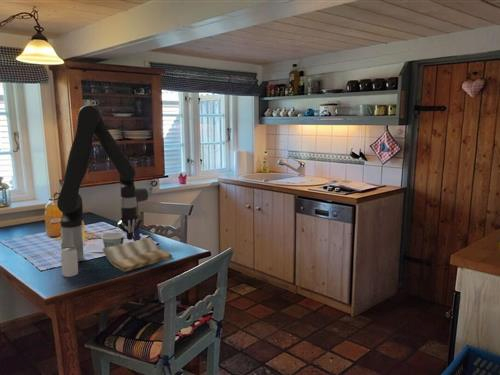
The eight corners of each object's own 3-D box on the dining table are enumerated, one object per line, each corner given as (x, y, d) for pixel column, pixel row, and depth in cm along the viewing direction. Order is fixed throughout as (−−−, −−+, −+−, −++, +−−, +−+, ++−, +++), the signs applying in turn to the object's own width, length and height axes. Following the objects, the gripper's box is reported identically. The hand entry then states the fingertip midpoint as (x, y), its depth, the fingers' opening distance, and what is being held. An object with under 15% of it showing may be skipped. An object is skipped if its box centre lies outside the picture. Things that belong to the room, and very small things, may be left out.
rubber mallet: (128, 245, 220) (127, 190, 215) (123, 241, 226) (121, 188, 221) (150, 241, 228) (148, 188, 223) (144, 237, 234) (142, 186, 228)
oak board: (124, 271, 184) (124, 267, 184) (113, 265, 191) (113, 261, 191) (172, 258, 203) (172, 254, 202) (160, 253, 210) (160, 249, 209)
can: (65, 271, 183) (63, 246, 181) (80, 271, 184) (78, 246, 182) (60, 277, 177) (58, 251, 175) (75, 277, 177) (73, 250, 175)
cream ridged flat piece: (112, 264, 192) (113, 261, 191) (102, 251, 197) (103, 248, 196) (159, 252, 210) (160, 249, 209) (149, 240, 216) (150, 237, 215)
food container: (129, 244, 222) (128, 232, 221) (119, 251, 211) (119, 239, 210) (107, 243, 224) (107, 231, 222) (97, 250, 212) (97, 238, 211)
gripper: (120, 209, 193) (121, 244, 197) (144, 204, 203) (145, 238, 206) (112, 206, 199) (114, 240, 202) (136, 202, 208) (137, 235, 211)
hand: (130, 239), depth 204 cm, fingers closed
